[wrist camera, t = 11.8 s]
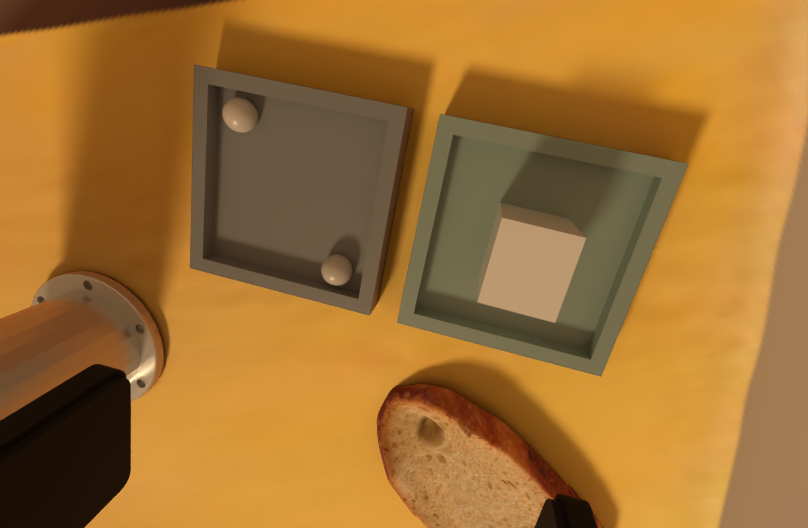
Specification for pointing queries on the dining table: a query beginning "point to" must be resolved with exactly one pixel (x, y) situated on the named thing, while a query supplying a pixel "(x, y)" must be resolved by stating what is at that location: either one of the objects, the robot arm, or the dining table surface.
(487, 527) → the bread slice
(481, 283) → the beige block
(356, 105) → the bin
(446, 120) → the bin
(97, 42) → the dining table surface
